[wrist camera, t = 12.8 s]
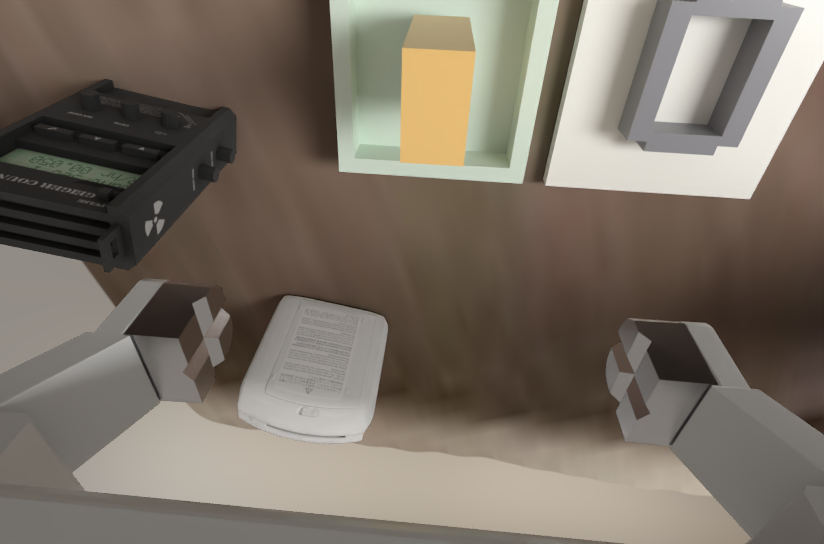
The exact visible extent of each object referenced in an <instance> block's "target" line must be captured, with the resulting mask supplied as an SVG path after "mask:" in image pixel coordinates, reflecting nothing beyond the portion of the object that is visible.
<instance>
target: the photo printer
mask: <svg viewBox="0 0 824 544" xmlns="http://www.w3.org/2000/svg"><path fill="white" fill-rule="evenodd" d="M387 334H388V324H387V322H386V320H385V318H384V317H383V316H381V315H379V314H376V313H373V312H369V311H364V310H360V309H356V308H351V307H347V306H343V305H338V304H333V303H328V302H324V301H319V300H315V299H310V298H304V297H299V296H290V295H287V296H284V297H283V298H282V300H281V301H280V302H279V304H278V306H277V308H276V310H275V312H274V315H273V317H272V319H271V321H270V323H269V325H268V327H267V330H266V332H265V334H264V336H263V338H262V340H261V343H260V345H259V347H258V349H257V351H256V353H255V356H254V358H253V360H252V362H251V364H250V366H249V369H248V371H247V373H246V375H245V377H244V380H243V382H242V385H241V388H240V393H239V401H238V406H237V407H238V411H239V412H238V417H239V418H241V419H242V420H244V421H245V422H247V423H249V424H250V425H252V426H254V427H256V428H259V429H261V430H263V431H266V432H269V433H271V434H274V435H277V436H281V437H284V438H289V439H293V440H297V441H303V442H310V443H321V444H343V443H352V442H358V441H362V438H363V433H364V431H365V430H366V429H367V428H368V426H369V425H370V423H371V421H372V419H373V415H374V410H375V404H376V398H377V393H378V387H379V381H380V375H381V369H382V364H383V358H384V352H385V346H386V340H387Z"/></svg>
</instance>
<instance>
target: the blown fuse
mask: <svg viewBox="0 0 824 544" xmlns="http://www.w3.org/2000/svg"><path fill="white" fill-rule="evenodd" d="M475 55H476V50H475V44H474V39H473V33H472V28H471V22H470V17H459V16H439V15H415V14H414V16H413V19H412V22H411V25H410V27H409V30H408V33H407V36H406V39H405V41H404V44H403V47H402V79H401V132H400V163H415V164H432V165H449V166H464V158H465V149H466V139H467V130H468V120H469V111H470V102H471V92H472V83H473V73H474V64H475Z"/></svg>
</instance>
